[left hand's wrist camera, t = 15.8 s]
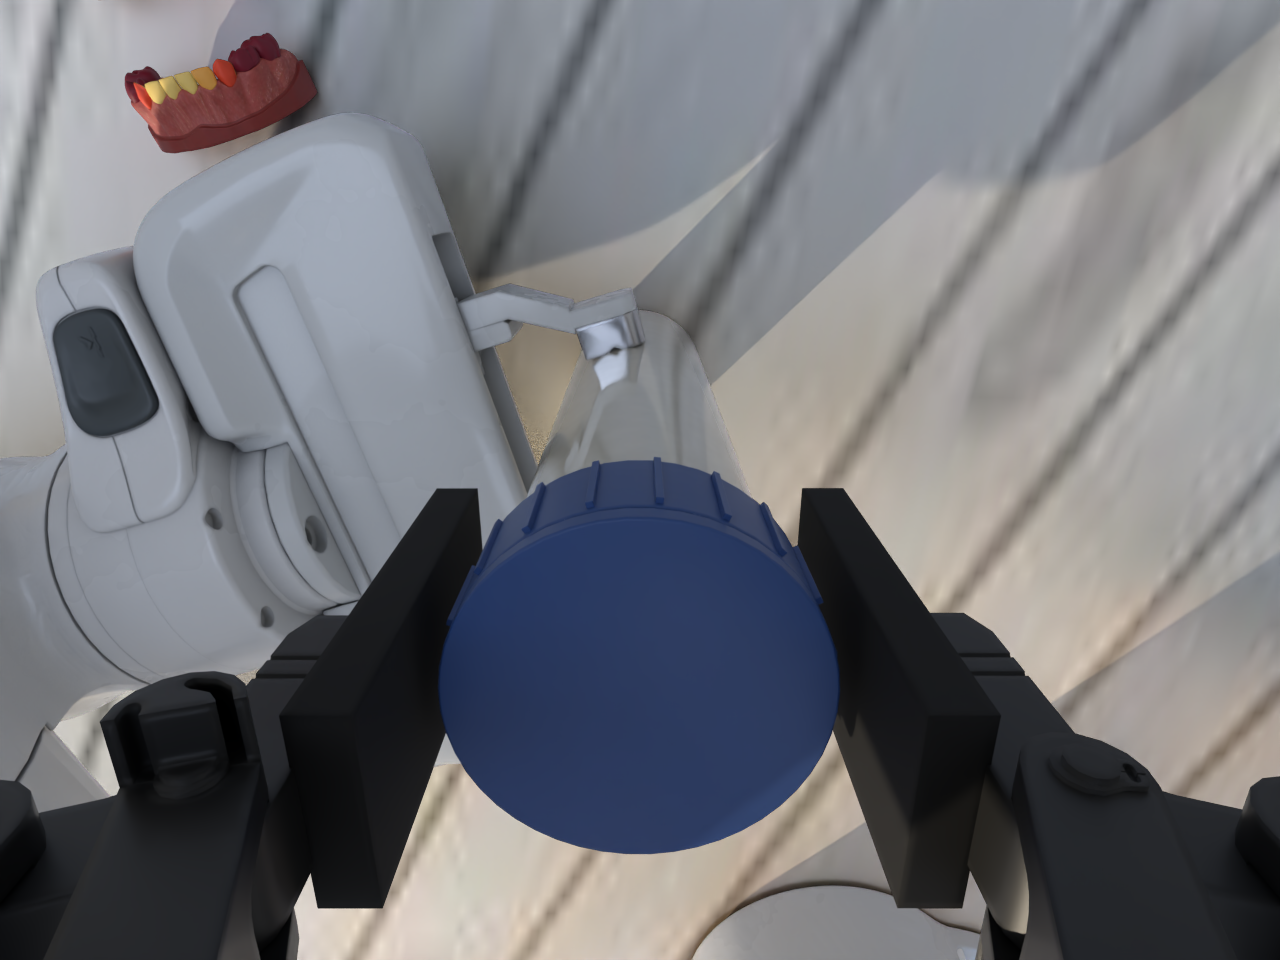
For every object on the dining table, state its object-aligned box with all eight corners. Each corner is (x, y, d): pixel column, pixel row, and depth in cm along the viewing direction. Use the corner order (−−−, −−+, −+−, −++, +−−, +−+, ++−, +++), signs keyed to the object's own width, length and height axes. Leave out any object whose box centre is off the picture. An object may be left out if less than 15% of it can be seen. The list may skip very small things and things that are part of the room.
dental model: (108, 166, 23) (-30, -154, 20) (183, 173, 27) (76, -93, 24) (287, 120, 22) (171, -209, 20) (336, 134, 26) (244, -138, 24)
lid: (680, 802, 14) (687, 913, 12) (406, 655, 13) (359, 747, 10) (880, 575, 12) (931, 656, 10) (585, 383, 11) (573, 428, 9)
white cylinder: (569, 418, 30) (455, 778, 11) (589, 298, 28) (494, 491, 10) (686, 440, 30) (760, 824, 12) (712, 322, 29) (846, 553, 10)
